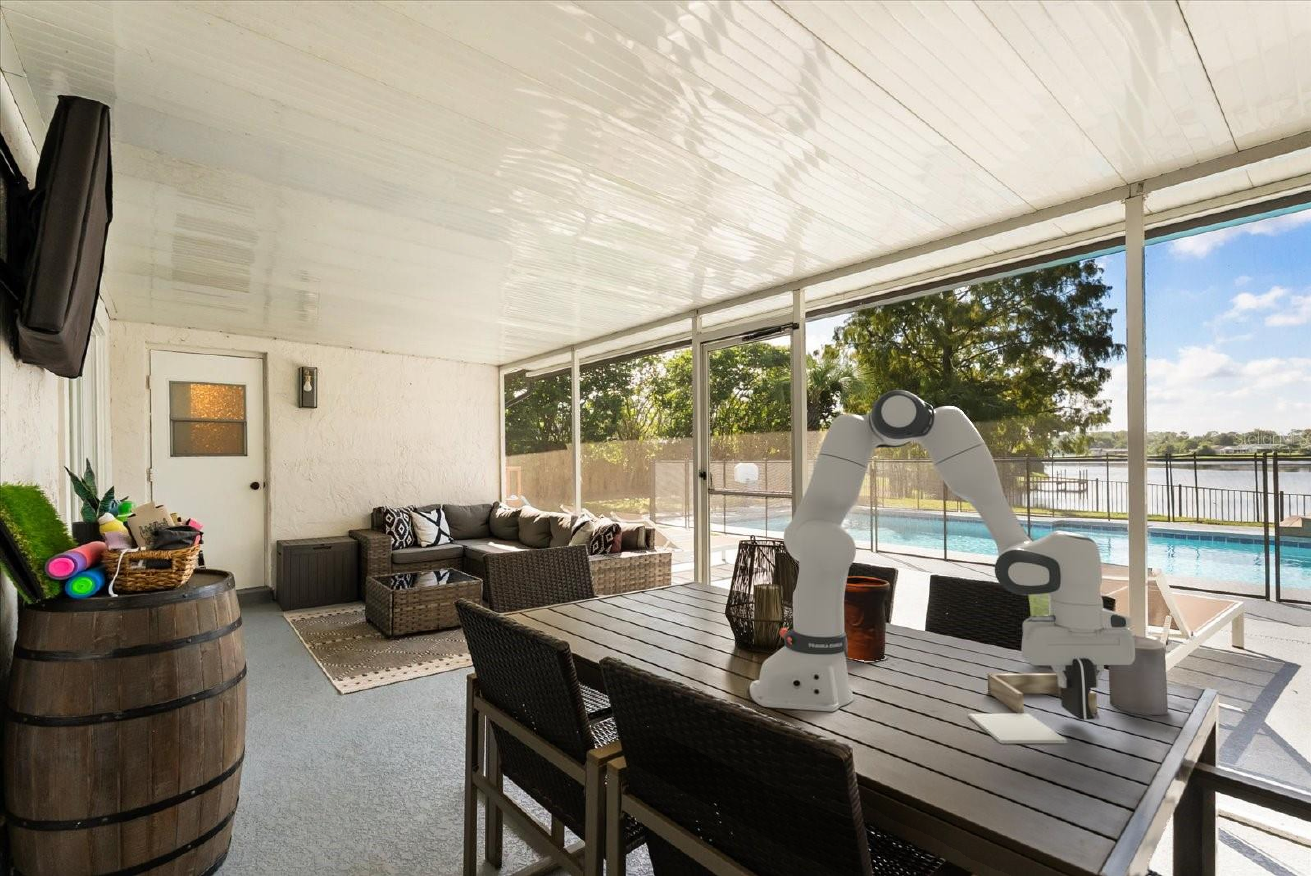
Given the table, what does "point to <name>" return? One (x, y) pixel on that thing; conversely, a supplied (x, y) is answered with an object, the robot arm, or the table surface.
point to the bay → (1027, 688)
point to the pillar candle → (1141, 680)
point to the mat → (1016, 728)
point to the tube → (1039, 604)
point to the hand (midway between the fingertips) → (1078, 687)
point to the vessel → (865, 617)
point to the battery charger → (1079, 688)
